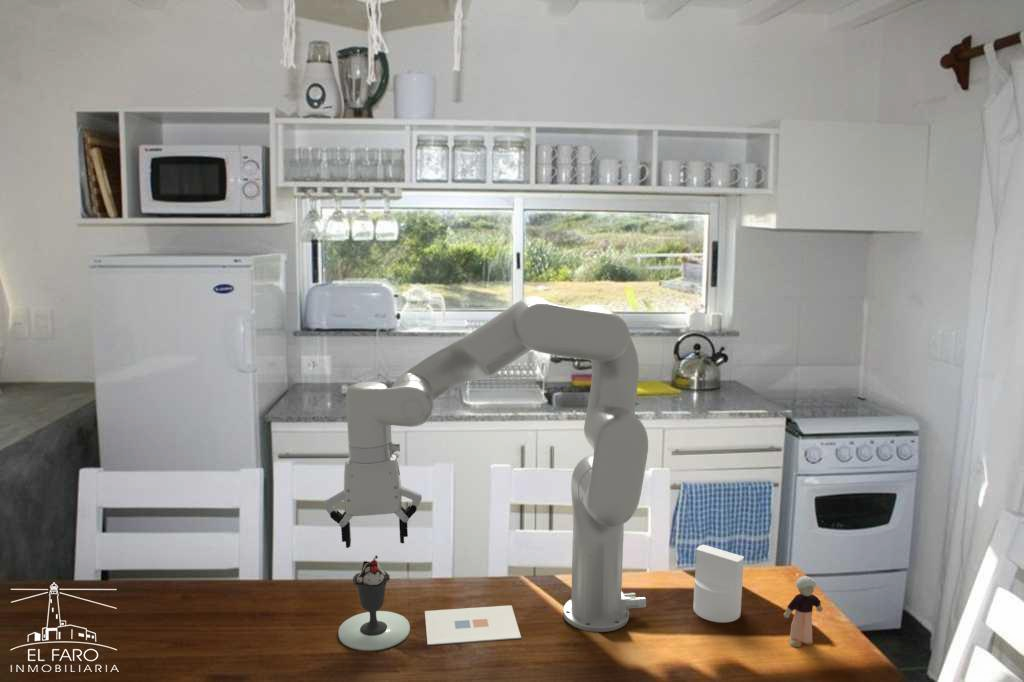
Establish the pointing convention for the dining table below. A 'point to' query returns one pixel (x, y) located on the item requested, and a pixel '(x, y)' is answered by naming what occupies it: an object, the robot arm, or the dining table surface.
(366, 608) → the sundae
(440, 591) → the dining table surface
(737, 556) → the cylinder with rectangular tab
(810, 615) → the grandmother figurine
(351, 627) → the plate
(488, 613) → the tile
